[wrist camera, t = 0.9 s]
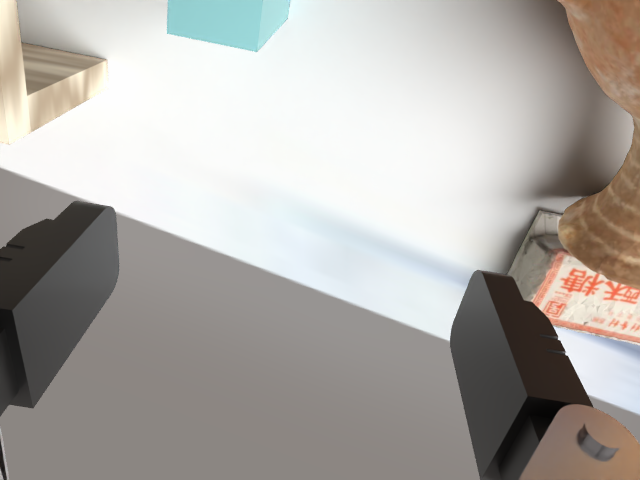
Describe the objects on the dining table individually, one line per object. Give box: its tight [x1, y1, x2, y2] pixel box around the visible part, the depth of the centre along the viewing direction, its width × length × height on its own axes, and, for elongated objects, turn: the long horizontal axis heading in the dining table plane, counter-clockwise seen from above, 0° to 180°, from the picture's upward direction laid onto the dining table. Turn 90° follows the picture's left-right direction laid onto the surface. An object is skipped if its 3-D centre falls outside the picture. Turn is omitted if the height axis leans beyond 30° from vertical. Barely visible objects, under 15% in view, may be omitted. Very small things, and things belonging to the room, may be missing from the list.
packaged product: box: [507, 210, 640, 345], centre depth 40 cm, size 18×5×10 cm
